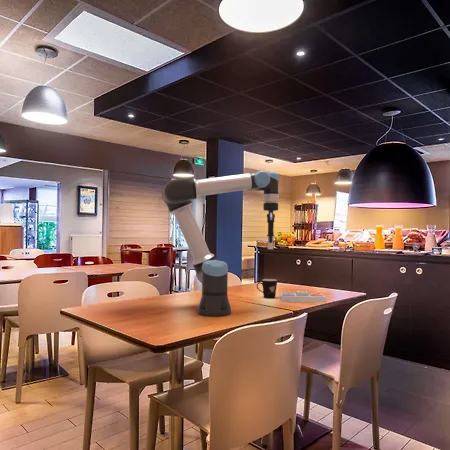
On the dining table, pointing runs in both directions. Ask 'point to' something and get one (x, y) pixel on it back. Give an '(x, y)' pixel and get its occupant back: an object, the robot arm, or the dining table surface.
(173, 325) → the dining table surface
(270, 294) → the coffee mug
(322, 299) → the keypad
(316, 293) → the tile three
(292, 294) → the tile one
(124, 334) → the dining table surface
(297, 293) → the tile two
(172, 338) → the dining table surface
